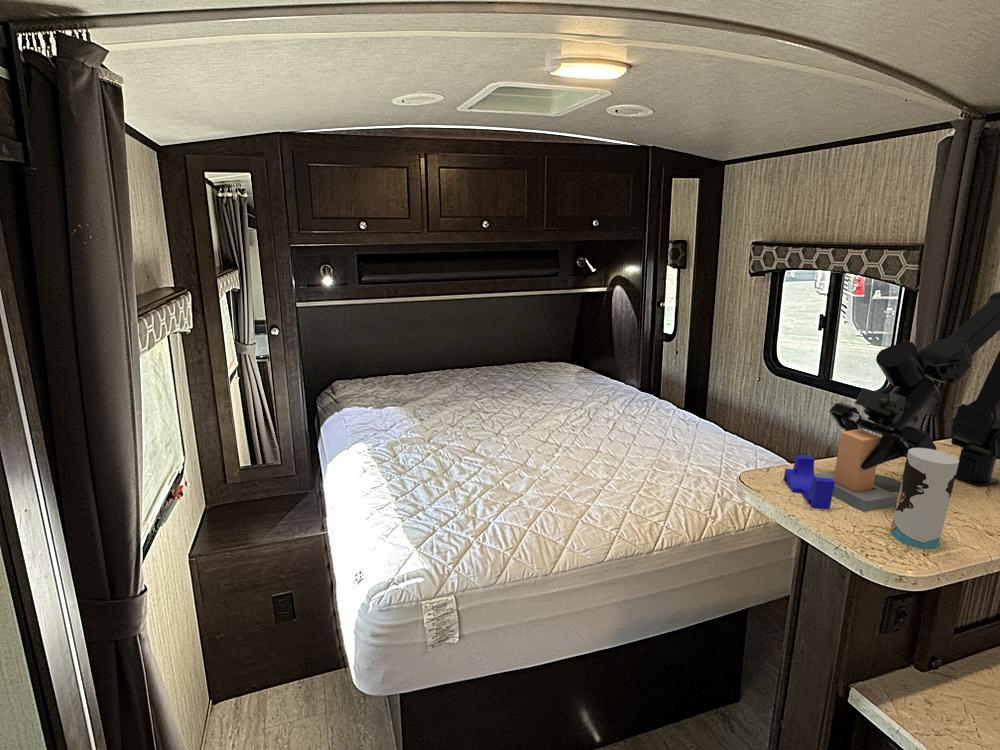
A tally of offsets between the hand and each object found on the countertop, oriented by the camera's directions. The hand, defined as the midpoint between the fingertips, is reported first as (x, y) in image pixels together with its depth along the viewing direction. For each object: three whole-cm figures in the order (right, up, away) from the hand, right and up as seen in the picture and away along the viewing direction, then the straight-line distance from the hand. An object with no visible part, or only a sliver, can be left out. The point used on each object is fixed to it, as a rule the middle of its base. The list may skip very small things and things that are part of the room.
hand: (850, 463), depth 114 cm
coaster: (+11, -6, +8) cm, 15 cm away
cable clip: (-7, -7, +2) cm, 10 cm away
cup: (+3, -11, -13) cm, 17 cm away
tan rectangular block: (+1, -6, +2) cm, 7 cm away
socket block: (+1, -7, +2) cm, 7 cm away
